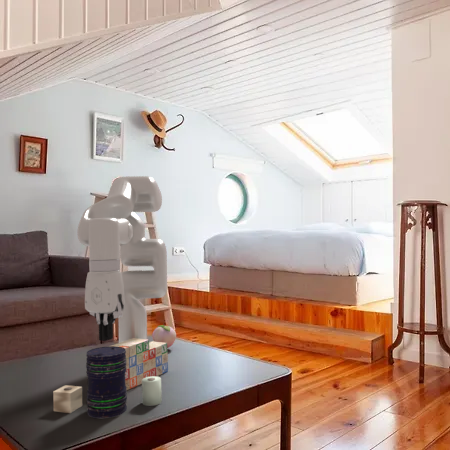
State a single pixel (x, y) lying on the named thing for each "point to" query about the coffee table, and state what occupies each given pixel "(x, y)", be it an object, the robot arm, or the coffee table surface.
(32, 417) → the coffee table surface
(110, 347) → the storage jar
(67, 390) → the maple cube
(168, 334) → the decorative fruit
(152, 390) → the sage cylinder
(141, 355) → the stack of blocks
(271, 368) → the coffee table surface
